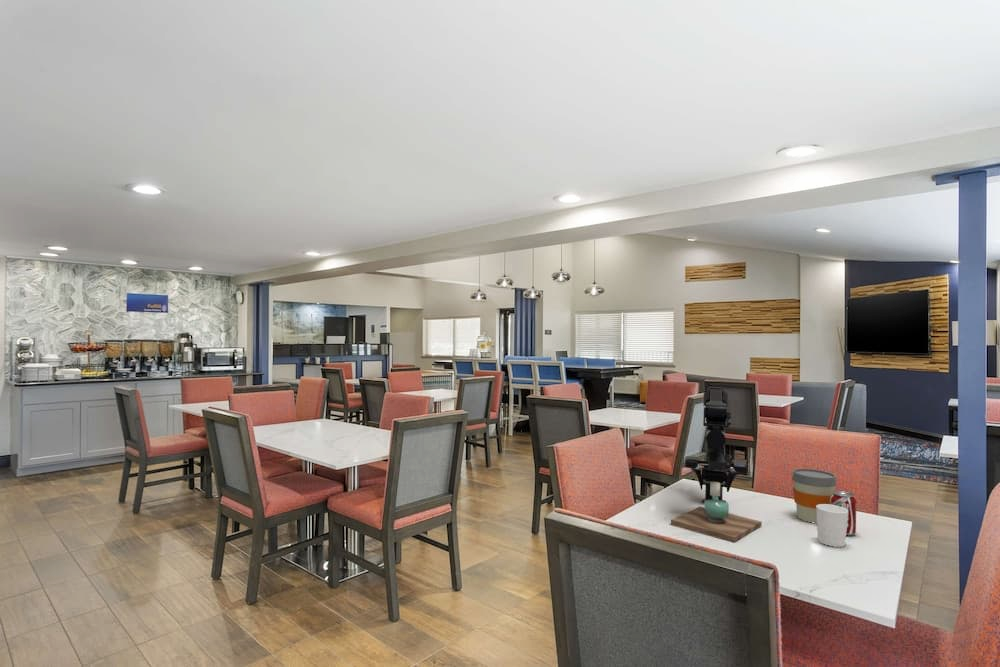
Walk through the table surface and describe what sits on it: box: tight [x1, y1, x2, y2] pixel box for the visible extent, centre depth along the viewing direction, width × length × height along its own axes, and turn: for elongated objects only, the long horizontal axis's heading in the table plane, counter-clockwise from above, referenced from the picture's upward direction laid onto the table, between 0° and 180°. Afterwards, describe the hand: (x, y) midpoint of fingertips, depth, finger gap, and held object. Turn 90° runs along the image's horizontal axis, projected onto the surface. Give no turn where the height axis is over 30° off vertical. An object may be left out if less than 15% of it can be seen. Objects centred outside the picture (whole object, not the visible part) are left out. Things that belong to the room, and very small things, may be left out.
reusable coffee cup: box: [791, 468, 837, 524], centre depth 180 cm, size 13×13×15 cm
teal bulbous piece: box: [703, 482, 730, 518], centre depth 175 cm, size 14×7×8 cm, turn 162°
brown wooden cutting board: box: [670, 505, 763, 543], centre depth 172 cm, size 20×20×3 cm
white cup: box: [816, 504, 848, 548], centre depth 159 cm, size 8×8×10 cm
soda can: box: [830, 490, 857, 536], centre depth 168 cm, size 7×7×12 cm
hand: (714, 490), depth 181 cm, fingers open, 8 cm apart
